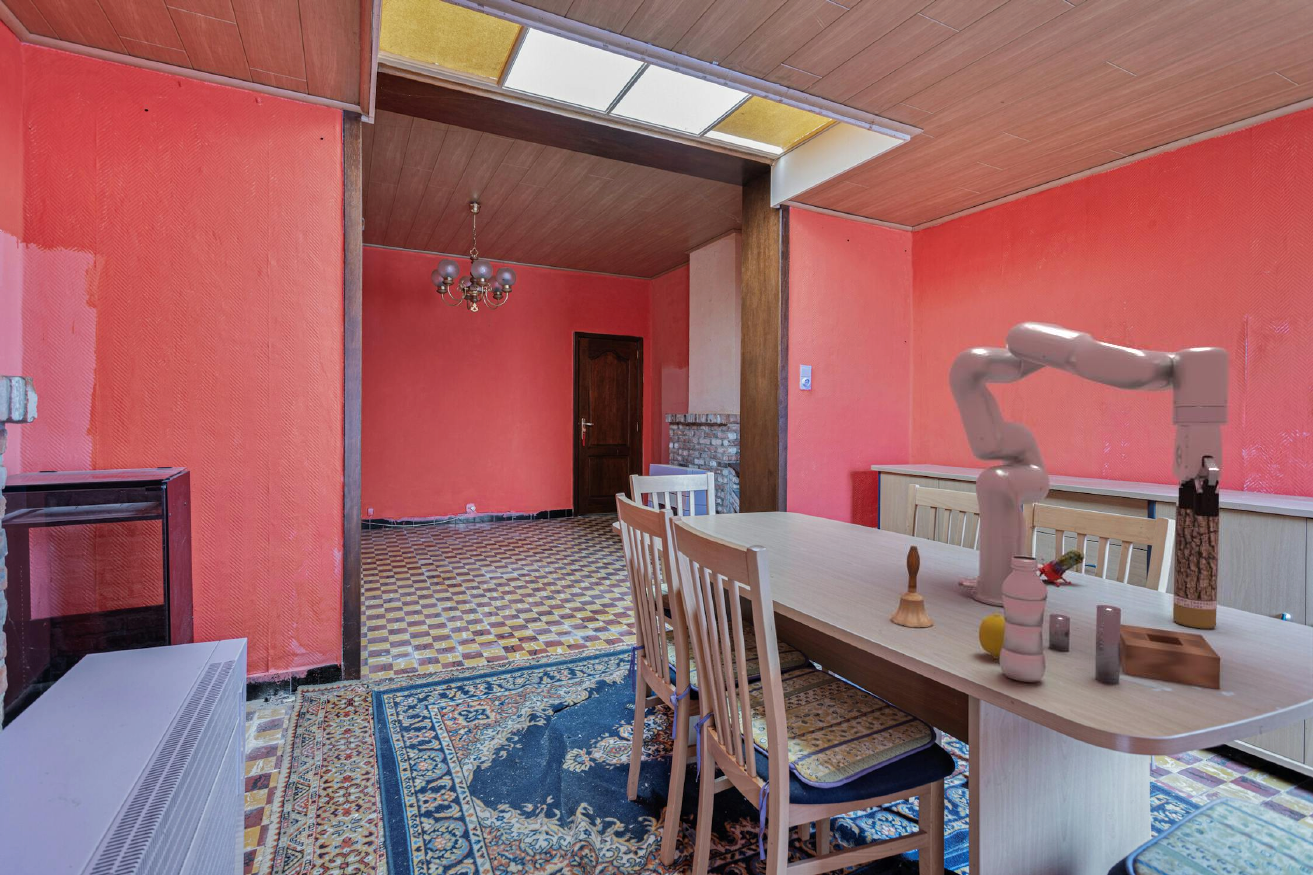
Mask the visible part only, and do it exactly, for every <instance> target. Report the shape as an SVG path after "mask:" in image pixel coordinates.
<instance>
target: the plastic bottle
mask: <svg viewBox="0 0 1313 875" xmlns="http://www.w3.org/2000/svg"><path fill="white" fill-rule="evenodd" d="M1038 562H1039V560H1038V558H1036V557H1035V556H1034V557H1033V556H1030V555H1029V556H1028V555H1026V556H1012V564H1011V568H1012V569H1013V572H1012V573H1011V574H1010V575H1009V576H1008V577H1007V578H1006V580H1005V581H1004V582H1003V585H1002V597H1003V605H1004V606H1003V611H1004V612H1003V615H1004V617H1003V618H1004V619H1005V629H1004V637H1003V647H1002V649H1001V652H1000V657H999V658H998V660H999V666H1000V667H999V668H1000V670H1001V672H1002V674H1004V676H1006V677H1007V678H1010V679H1012V680H1015V681H1019V682H1025V683H1037V682H1039V681H1041V680H1042V679H1043V678H1044V676H1045V673H1046V668H1047V666H1046V658H1045V653H1044V643H1043V642H1044V641H1043V629H1044V627H1043V625H1044V615H1045V610H1046V605H1047V601H1048V600H1047V599H1048V589H1047V586H1046V585H1045V583H1044V582H1043V579H1041V577H1039V575H1038V574H1037V572H1038V567H1039V566H1038V565H1039V563H1038Z"/></svg>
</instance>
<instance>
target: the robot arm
mask: <svg viewBox="0 0 1313 875" xmlns="http://www.w3.org/2000/svg"><path fill="white" fill-rule="evenodd" d="M1005 346H1006V347H1005V348H1003V347H993V346H976V347H971V348H970V347H969V348H967V349H966V350H963V351H961V353H959V354H958V355H957V356H956V357H955V359H954V360H953V362H952V364H951V366H950V370H949V374H948V382H949V384H948V385H949V388H950V393H951V394H952V397H953V399H954V401H955V404H956V406H957V409H958V412H959V414H960V419H961V423H962V425H963V429H964V431H965V435H966V439H967V441H968V444H969V448H970V451H971V452H972V454H973V456H974V457H975V458H976V459H977V460H980V461H983V462H1002V465H1000V464H999V465H993V466H990V467H988V468H986V469H984V470H983V471H982V472H980V474H979V475H978V477H977V479H976V482H975V492H976V498H977V499H976V500H977V503H978V504H977V505H978V511H979V549H978V550H979V554H978V556H979V558H978V562H979V564H978V565H979V566H978V575H977V578H975V577H973V578H972V579H971V578H966V577H958V578H957V579H958V581H957V586H959V587H962V588H964V589H965V588H966V589H973V590H972V591H971V597H972V598H973V600H975V601H978V602H980V603H984V604H987V605H992V606H996V607H997V606H999V607H1004V605H1003V597H1002V585H1003V582H1004V581H1005V580H1006V578H1007V577H1008V576H1009V575H1010V574H1011V573H1012V572H1013V569H1012V568H1011V564H1012V556H1027V524H1026V518H1025V515H1024V512H1023V510H1022V507H1021V506H1023V505H1032V504H1037V503H1040V502H1042V501H1043V500H1044V499H1045V498H1046V497H1047V495H1048V493H1049V492H1050V486H1051V484H1050V478H1049V474H1048V470H1047V468H1046V464H1045V463H1044V458H1043V456H1042V454H1041V450H1040V448H1039V445H1038V442H1037V439H1036V436H1035V435H1034V433H1033V432H1032V431H1031V430H1030V428H1028V427H1027V426H1026V425H1024V424H1022V423H1020V422H1016V421H1006V420H1005V419H1004V417H1003V416H1002V412H1001V410H1000V406H999V403H998V402H997V399H996V397H995V395H994V394H993V393H992V392H991V391H990V389H989V388H988V387H987V385H986V384H1011V383H1012V384H1013V383H1015V382H1018V381H1020V380H1022V379H1025V378H1027V377H1028V376H1030V375H1033V374H1034V373H1037V372H1038V371H1041V370H1042V369H1044V368H1046V367H1049V368H1053V369H1055V370H1056V369H1057V370H1059V371H1060V370H1061V371H1062V372H1067V373H1070V374H1072V375H1073V376H1077V377H1080V378H1082V379H1084V380H1085V379H1086V380H1089V381H1092V382H1095V383H1099V384H1102V385H1106V386H1110V387H1113V388H1117V389H1118V388H1119V389H1122V390H1127V391H1145V392H1146V391H1147V392H1162V391H1169V390H1170V391H1171V390H1172V417H1171V418H1172V419H1171V422H1172V423H1171V424H1172V426H1176V429H1175V430H1176V431H1175V435H1174V436H1175V438H1174V447H1173V461H1172V462H1173V463H1172V475H1173V477H1175V478H1176V479H1179V482H1178V501H1177V502H1178V507H1179V508H1180V509H1193V510H1194V515H1196V516H1206V517H1218V516H1219V517H1220V486H1219V485H1220V480H1221V478H1222V473H1223V472H1222V471H1223V443H1222V442H1223V439H1222V437H1223V436H1222V426H1228V421H1229V381H1230V380H1229V377H1230V376H1229V373H1230V356H1229V355H1230V354H1229V352H1228V350H1226V349H1225V348H1223V347H1217V346H1203V347H1190V348H1183V349H1180V350H1178V351H1177V352H1174V351H1171V352H1170V351H1158V350H1148V349H1138V348H1137V349H1136V348H1130V347H1125V346H1119V345H1115V344H1111V343H1106V342H1102V341H1098V340H1095V339H1094V337H1093V336H1092V334H1090V333H1087V332H1083V331H1079V330H1073V329H1069V328H1064V327H1063V326H1062V325H1059V324H1056V323H1048V322H1039V321H1038V322H1037V321H1024V322H1021V323H1018V324H1016V325H1014V326H1013V327H1011V329H1010V330H1009V331H1008V332H1007V334H1006V337H1005Z"/></svg>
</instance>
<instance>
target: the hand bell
mask: <svg viewBox="0 0 1313 875" xmlns="http://www.w3.org/2000/svg"><path fill="white" fill-rule="evenodd" d="M920 565H921V558H920V553H919V550H918V546H916V545H910V548H909V550H908V553H907V557H906V568H907V572H908V582H907V583H908V586H907V592H905V593H903V594H901V595H900V599H899V600H900V601H899V605H898V608H897V610H896V611H895V613H893V614H892V615H891V616H890V621H891V620H892V621H891V622H892V623H893V624H896V625H899V624H900V625H899V626H902V625H904V627H909V628H914V627H918V629H920V628H919V627H926V628H929V627H930V628H931V627H932V626H933V625H934V622H933V620H932V619H931V618H930V617H929V615H928V613H927V611H926V608H925V603H924V602H925V600H924V597H923V596H922V595H920V594H918V592H917V588H918V586H917V584H918V583H917V581H918V579H917V578H918V573H919V571H920Z"/></svg>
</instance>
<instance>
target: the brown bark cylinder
mask: <svg viewBox="0 0 1313 875" xmlns="http://www.w3.org/2000/svg"><path fill="white" fill-rule="evenodd" d="M1174 527H1175V529H1174V530H1175V531H1174V564H1173V566H1174V568H1173V569H1174V570H1173V601H1172V602H1173V606H1172V607H1173V610H1172V611H1173V612H1172V617H1173V621H1174V622H1176V623H1177V624H1179V625H1182V626H1185V627H1187V628H1194V629H1201V630H1202V629H1205V630H1206V629H1207V630H1210V629H1213V628H1215V627H1216V625H1217V607H1218V606H1217V605H1218V604H1217V603H1218V575H1219V574H1218V570H1219V536H1220V534H1219V532H1220V515H1219V516H1218V517H1206V516H1196V515H1194V510H1193V509H1180V508H1179V507H1178V501H1177V502H1176V503H1175V526H1174Z"/></svg>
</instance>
